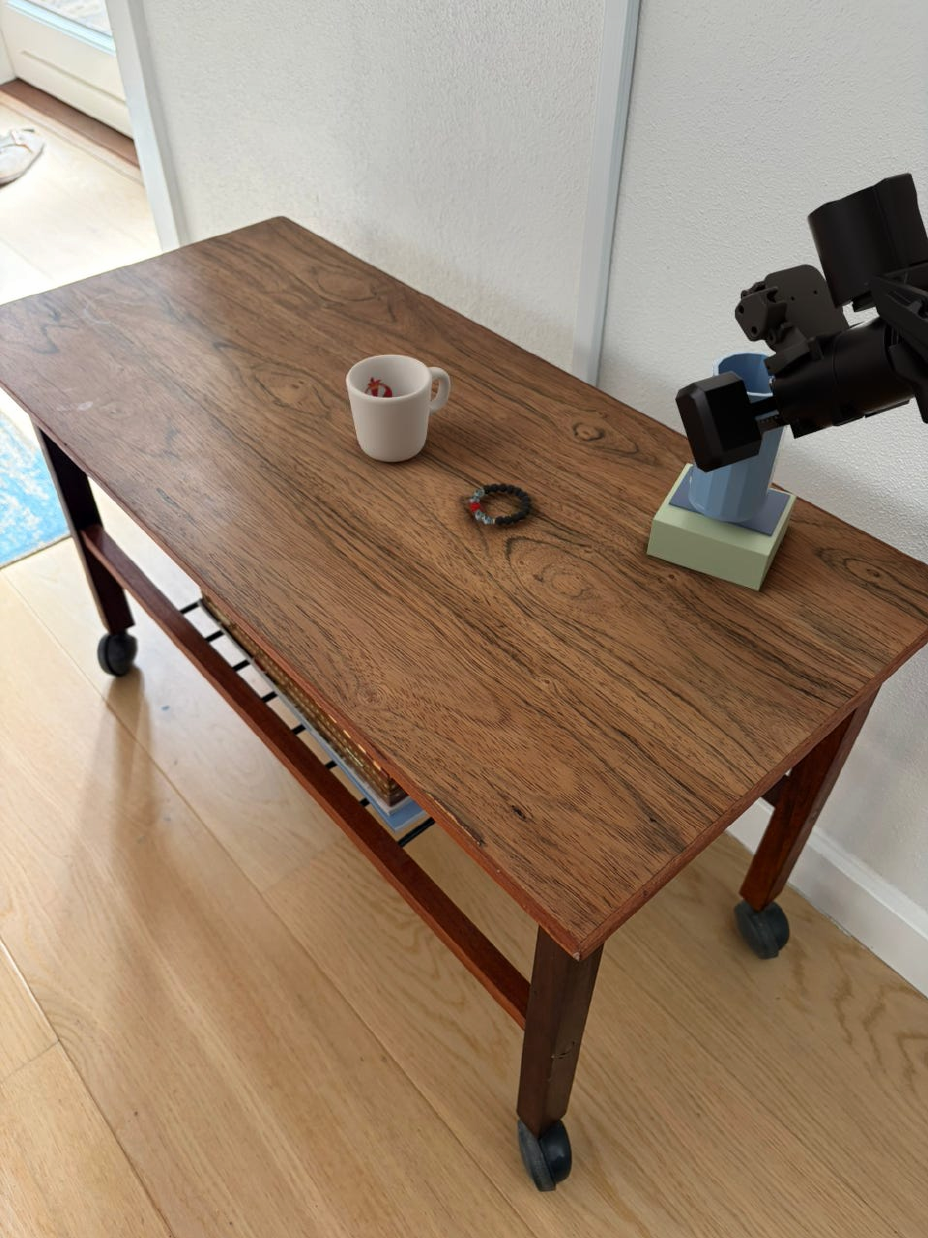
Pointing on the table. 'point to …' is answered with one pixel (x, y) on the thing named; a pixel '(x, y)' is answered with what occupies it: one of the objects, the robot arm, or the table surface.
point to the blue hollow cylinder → (747, 481)
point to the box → (719, 536)
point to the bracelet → (507, 520)
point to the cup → (394, 404)
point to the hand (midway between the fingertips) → (731, 423)
